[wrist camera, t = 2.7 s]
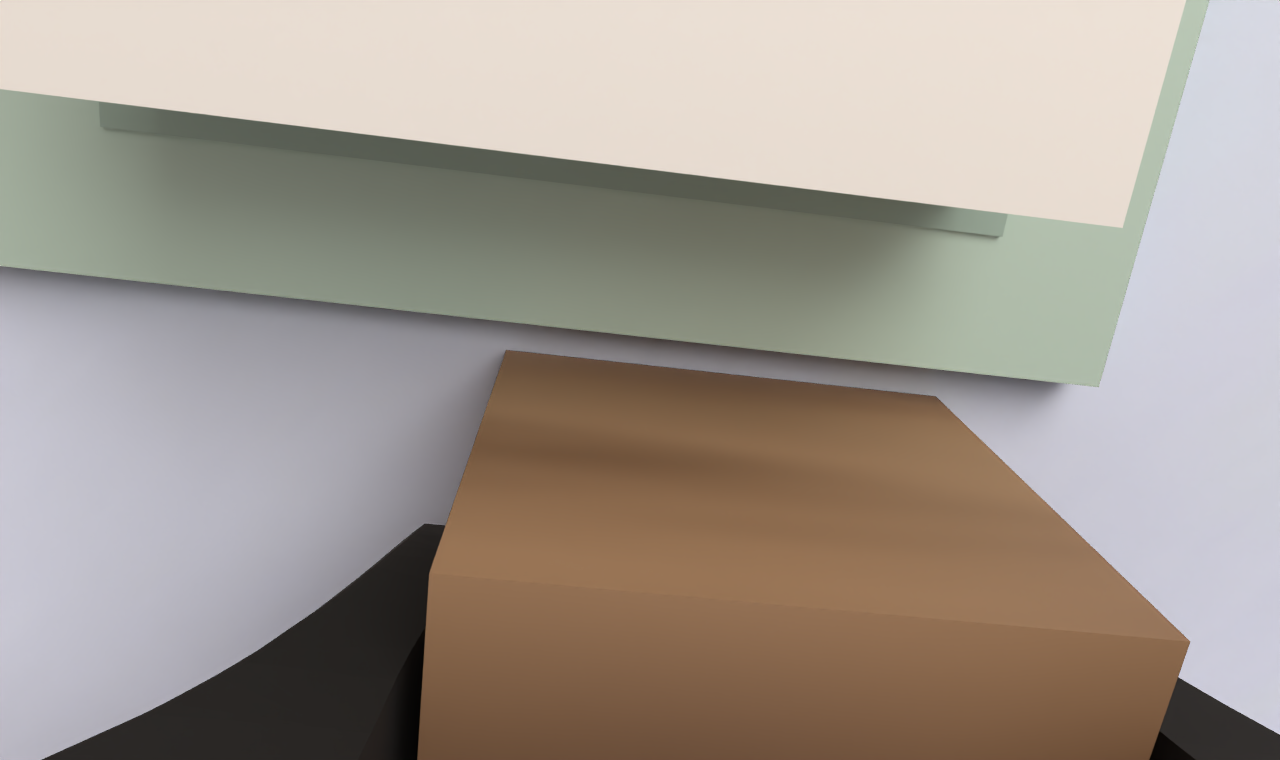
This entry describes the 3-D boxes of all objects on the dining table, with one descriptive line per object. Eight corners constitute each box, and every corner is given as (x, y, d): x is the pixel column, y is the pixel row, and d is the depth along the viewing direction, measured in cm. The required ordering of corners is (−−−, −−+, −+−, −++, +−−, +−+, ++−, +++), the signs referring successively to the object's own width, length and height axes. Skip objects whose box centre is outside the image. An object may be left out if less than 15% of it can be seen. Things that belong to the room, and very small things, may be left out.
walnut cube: (853, 751, 12) (1006, 1164, 8) (474, 721, 12) (393, 1137, 7) (935, 397, 11) (1190, 641, 6) (506, 349, 11) (429, 572, 6)
